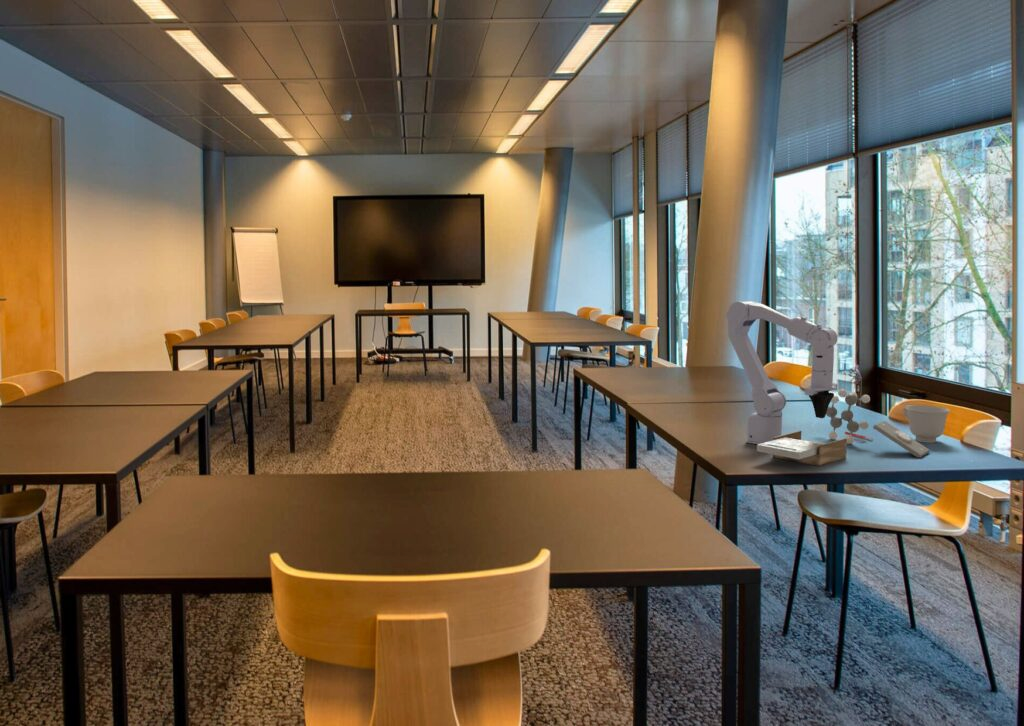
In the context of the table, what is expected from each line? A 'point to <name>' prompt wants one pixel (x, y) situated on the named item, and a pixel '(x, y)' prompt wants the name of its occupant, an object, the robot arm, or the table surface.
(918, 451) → the light switch
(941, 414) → the teacup
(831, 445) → the oak box
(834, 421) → the molecule model
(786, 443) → the cover plate
